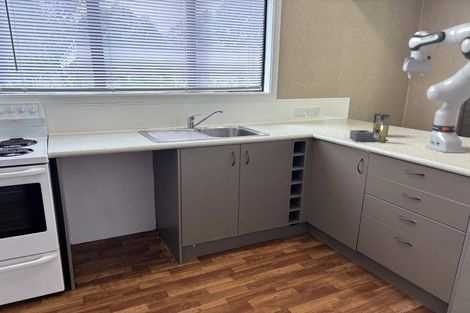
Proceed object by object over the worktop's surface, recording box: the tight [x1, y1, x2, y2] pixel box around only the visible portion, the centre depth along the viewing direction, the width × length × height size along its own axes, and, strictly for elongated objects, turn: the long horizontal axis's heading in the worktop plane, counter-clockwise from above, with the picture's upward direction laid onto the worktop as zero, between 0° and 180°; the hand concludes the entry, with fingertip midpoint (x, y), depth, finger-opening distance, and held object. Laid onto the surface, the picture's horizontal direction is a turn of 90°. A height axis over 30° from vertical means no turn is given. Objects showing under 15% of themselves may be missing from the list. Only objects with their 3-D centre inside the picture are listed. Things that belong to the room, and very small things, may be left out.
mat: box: [373, 136, 388, 142], centre depth 238 cm, size 12×10×1 cm
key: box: [378, 124, 387, 144], centre depth 226 cm, size 4×4×12 cm
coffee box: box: [372, 113, 391, 138], centre depth 249 cm, size 9×6×16 cm
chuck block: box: [349, 129, 375, 143], centre depth 234 cm, size 12×12×6 cm
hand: (415, 78), depth 229 cm, fingers open, 8 cm apart
